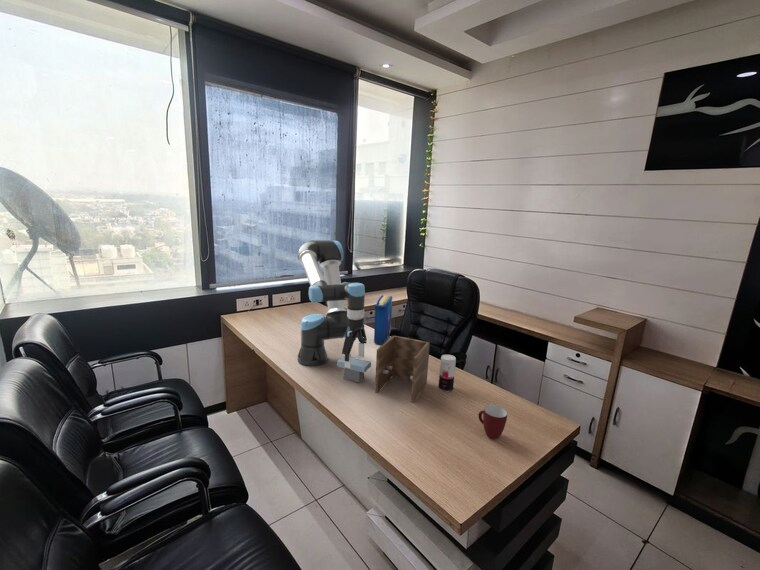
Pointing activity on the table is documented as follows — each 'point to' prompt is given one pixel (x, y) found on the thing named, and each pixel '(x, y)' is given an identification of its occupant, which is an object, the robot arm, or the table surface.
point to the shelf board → (355, 364)
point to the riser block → (353, 375)
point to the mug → (493, 420)
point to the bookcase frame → (403, 363)
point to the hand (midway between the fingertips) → (354, 361)
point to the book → (382, 319)
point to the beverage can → (447, 372)
